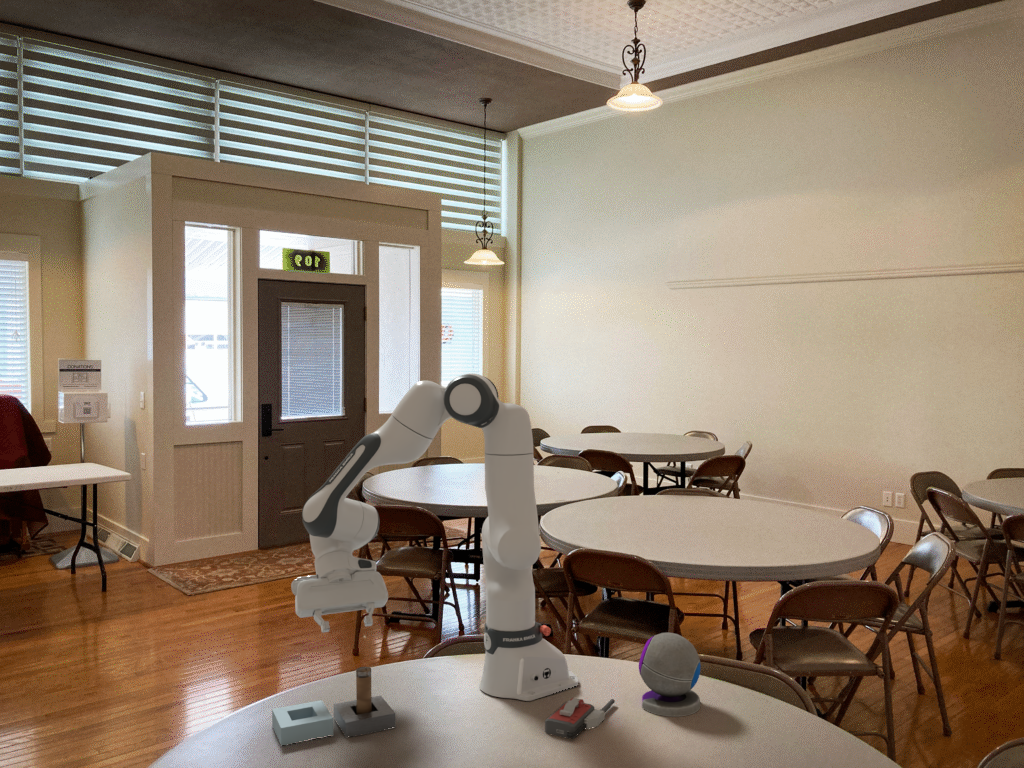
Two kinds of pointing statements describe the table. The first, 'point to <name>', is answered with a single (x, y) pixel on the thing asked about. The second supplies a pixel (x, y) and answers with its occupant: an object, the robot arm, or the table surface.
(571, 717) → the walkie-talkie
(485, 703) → the table surface
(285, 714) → the block
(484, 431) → the robot arm
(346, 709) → the socket block
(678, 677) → the webcam
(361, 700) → the peg
